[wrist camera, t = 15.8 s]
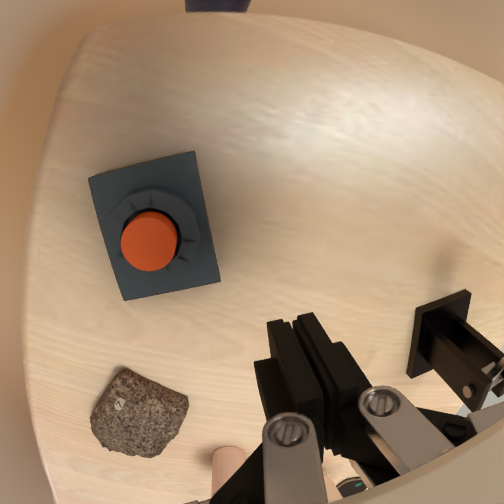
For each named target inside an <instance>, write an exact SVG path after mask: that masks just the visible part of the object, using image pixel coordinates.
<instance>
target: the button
mask: <svg viewBox="0 0 504 504" xmlns="http://www.w3.org/2000/svg"><path fill="white" fill-rule="evenodd" d="M176 244H177V232H176V228H175V226H174V224H173V223H172V222H171V220H170V219H169V218H168V217H166V216H165V215H163V214H161V213H158V212H152V211H150V212H144V213H141V214H139V215H137V216H136V217H134V218H133V219H132V221H131V222H130V223H129V224H128V225H127V227H126V228H125V230H124V232H123V234H122V237H121V249H122V252H123V255H124V257H125V258H126V260H127V261H128V262H129V263H130V264H131V265H132V266H134V267H135V268H137V269H140V270H143V271H156V270H159V269H161V268H163V267H165V266H166V265H167V264H168V263H169V262H170V261H171V260H172V258H173V256H174V253H175V249H176Z"/></svg>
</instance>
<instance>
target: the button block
mask: <svg viewBox="0 0 504 504" xmlns="http://www.w3.org/2000/svg"><path fill="white" fill-rule="evenodd" d="M88 181H89V185H90V190H91V194H92V198H93V202H94V206H95V210H96V213H97V217H98V221H99V224H100V228H101V231H102V235H103V238H104V242H105V245H106V248H107V252H108V255H109V258H110V261H111V264H112V268H113V271H114V274H115V277H116V280H117V283H118V285H119V288H120V291H121V294H122V297H123V300H124V301H128V300H133V299H138V298H143V297H148V296H153V295H158V294H163V293H168V292H173V291H178V290H183V289H188V288H193V287H198V286H203V285H208V284H212V283H217V282H221V279H220V273H219V268H218V264H217V259H216V254H215V250H214V245H213V240H212V235H211V231H210V226H209V221H208V216H207V211H206V206H205V201H204V196H203V191H202V186H201V181H200V176H199V171H198V166H197V160H196V155H195V151H190V152H186V153H181V154H176V155H172V156H167V157H163V158H159V159H155V160H151V161H146V162H142V163H138V164H135V165H131V166H127V167H123V168H119V169H116V170H112V171H109V172H105V173H102V174H98V175H95V176H92V177H89V178H88ZM150 211H152V212H158V213H161V214H163V215H165V216H166V217H168V218H169V219H170V220H171V222H172V223H173V224H174V226H175V228H176V232H177V244H176V249H175V253H174V256H173V258H172V260H171V261H170V262H169V263H168V264H167V265H166V266H165V267H163V268H161V269H159V270H156V271H143V270H140V269H137V268H135V267H134V266H132V265H131V264H130V263H129V262H128V261H127V260H126V258H125V257H124V255H123V252H122V249H121V237H122V234H123V232H124V230H125V228H126V227H127V225H128V224H129V223H130V222H131V221H132V219H133V218H134V217H136V216H137V215H139V214H141V213H144V212H150Z"/></svg>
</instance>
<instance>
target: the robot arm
mask: <svg viewBox="0 0 504 504" xmlns="http://www.w3.org/2000/svg"><path fill="white" fill-rule="evenodd" d="M292 325H293V329H292V327H291V325H290V323H289V322H283V320H282V319H279V320H274V321H269V322H267V331H268V338H269V346H270V354H271V358H269V359H264V360H259V361H254V368H255V374H256V379H257V384H258V389H259V393H260V397H261V401H262V405H263V409H264V412H265V416H266V420H267V422H266V424H265V425H264V427H263V431H262V443H261V444H260V445H259V446H258V448H257V449H256V450H255V451H254V452H253V453H252V454H251V456H250V457H249V458H248V459H247V460H246V461H245V462H244V463H243V464H242V465H241V467H240V468H239V469H238V470H237V471H236V472H235V473H234V474H233V475H232V476H231V477H230V478H229V479H228V480H227V481H226V483H225V484H224V485H223V486H222V487H221V488H220V489H219V490H218V491H217V492H216V493H215V494H214V495H213V496H212V498H211V499H208V500H205V501H201V502H198V501H197V500H196V501H192V502H189V503H185V504H504V402H501V403H498V404H496V405H493V406H490V407H487V408H484V409H481V410H478V411H475V412H472V413H469V414H468V415H467V417H465V418H464V417H462V416H459V415H453V414H448V413H443V412H438V411H433V410H428V409H423V408H418V407H415V406H414V405H413V404H412V403H411V402H410V401H409V400H408V399H407V398H406V397H405V396H404V395H403V394H402V393H401V392H399V391H398V390H397V389H395V388H392V387H389V386H375V387H372V385H371V384H370V382H369V381H368V379H367V378H366V376H365V375H364V373H363V372H362V370H361V369H360V367H359V366H358V364H357V363H356V361H355V360H354V358H353V357H352V355H351V354H350V352H349V351H348V349H347V348H346V346H345V345H344V344H343V342H341V341H339V342H336V343H332V342H331V340H330V338H329V337H328V335H327V334H326V332H325V330H324V329H323V327H322V326H321V324H320V323H319V321H318V319H317V318H316V316H315V315H314V313H313V312H311V313H307V314H302V315H298V316H297V320H293V322H292ZM324 447H325V449H326V450H328V449H331V450H332V452H333V455H334V456H336V455H339V454H341V456H342V457H344V458H347V459H349V461H350V463H351V466H352V467H353V468H354V470H355V471H356V473H357V474H358V475H359V477H360V478H361V480H362V481H363V482H364V484H365V485H366V487H367V488H368V490H365V491H362V492H360V493H357V494H354V495H351V496H348V497H345V498H342V499H339V500H336V501H333V502H330V503H328V498H327V492H326V486H325V481H324V475H323V470H322V463H323V453H324Z"/></svg>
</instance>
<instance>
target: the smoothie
mask: <svg viewBox="0 0 504 504" xmlns="http://www.w3.org/2000/svg"><path fill="white" fill-rule="evenodd" d="M244 462H245V459H244V456H243V453H242V451H241V450H240V449H239V448H236V447H222V448H219V449H217V450H216V451H215V452H214V454H213V473H212V494H211V498H212V496H213V495H214V494H215V493H216V492H217V491H218V490H219V489H220V488H221V487H222V486H223V485H224V484H225V483H226V481H227V480H228V479H229V478H230V477H231V476H232V475H233V474H234V473H235V472H236V471H237V470H238V469H239V468H240V467H241V465H242V464H243V463H244Z"/></svg>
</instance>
